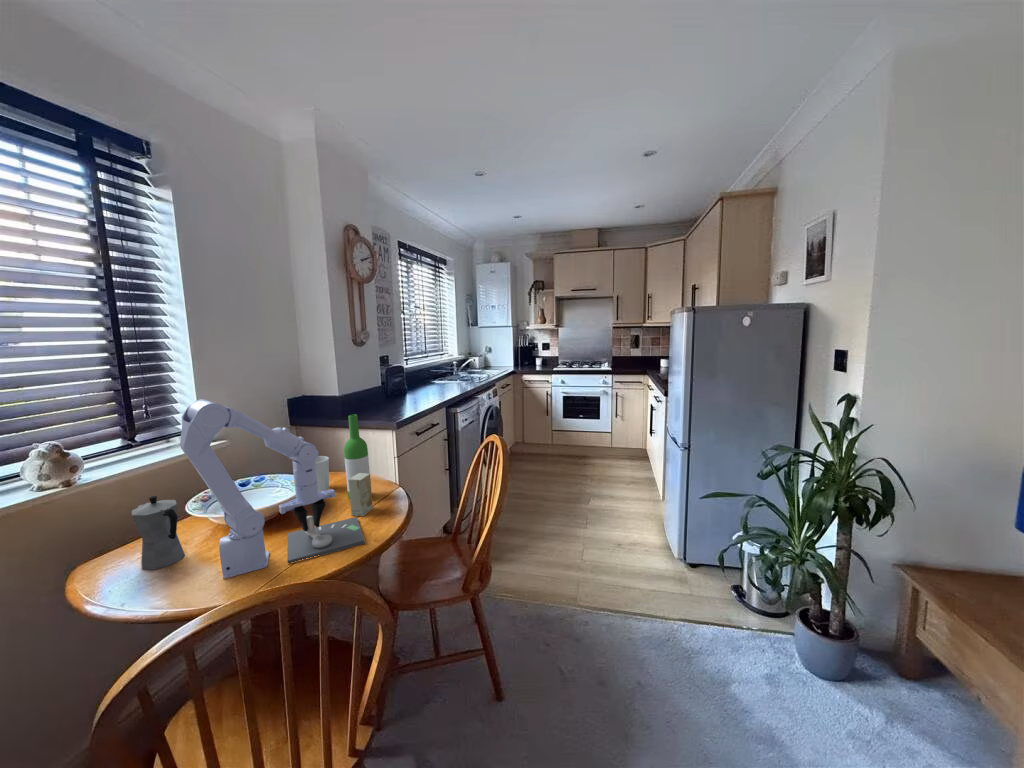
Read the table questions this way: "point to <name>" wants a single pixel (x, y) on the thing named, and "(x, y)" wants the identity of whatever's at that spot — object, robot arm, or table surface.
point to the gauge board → (341, 532)
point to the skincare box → (360, 494)
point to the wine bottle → (355, 452)
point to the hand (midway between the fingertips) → (311, 527)
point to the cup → (322, 472)
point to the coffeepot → (158, 533)
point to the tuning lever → (317, 535)
